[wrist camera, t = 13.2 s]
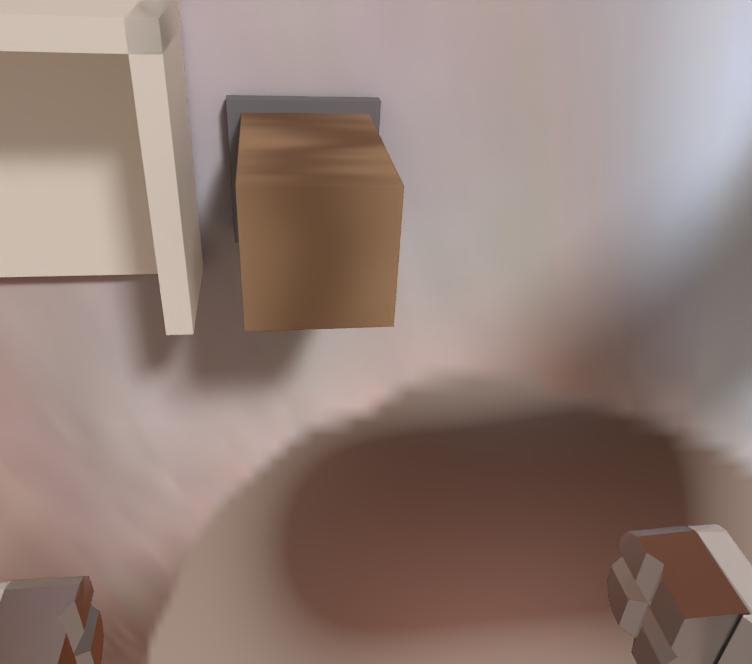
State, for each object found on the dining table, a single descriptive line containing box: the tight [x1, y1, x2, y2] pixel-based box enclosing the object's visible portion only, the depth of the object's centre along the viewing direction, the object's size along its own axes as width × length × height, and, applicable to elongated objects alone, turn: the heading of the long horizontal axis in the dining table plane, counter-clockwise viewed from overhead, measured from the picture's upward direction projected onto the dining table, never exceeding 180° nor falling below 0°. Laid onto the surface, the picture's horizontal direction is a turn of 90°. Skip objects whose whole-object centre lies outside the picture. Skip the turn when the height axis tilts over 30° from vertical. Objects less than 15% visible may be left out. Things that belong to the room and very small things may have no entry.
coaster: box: [226, 95, 381, 242], centre depth 29 cm, size 6×6×1 cm
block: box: [235, 112, 404, 331], centre depth 25 cm, size 5×5×8 cm
